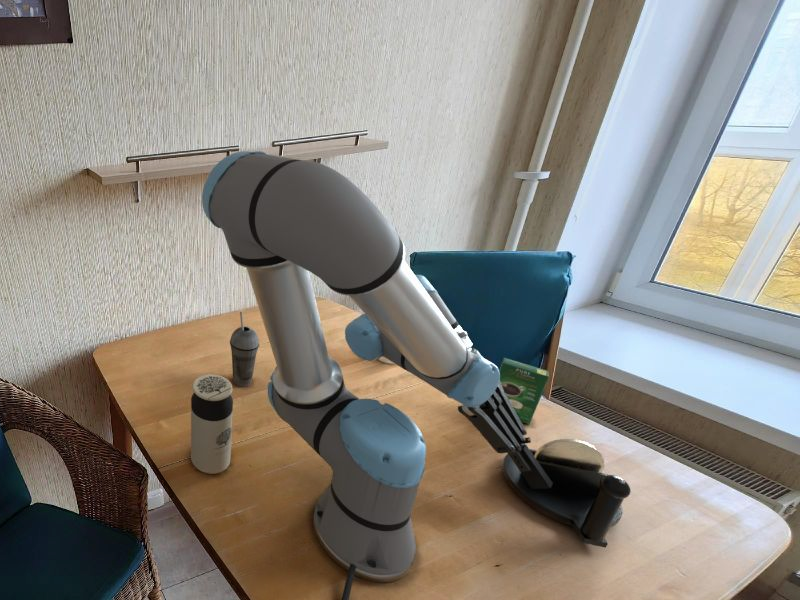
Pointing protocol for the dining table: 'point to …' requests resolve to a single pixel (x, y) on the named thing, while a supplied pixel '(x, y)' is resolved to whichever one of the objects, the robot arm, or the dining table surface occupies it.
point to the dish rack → (574, 488)
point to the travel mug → (211, 423)
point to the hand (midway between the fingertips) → (542, 486)
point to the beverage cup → (243, 354)
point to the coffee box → (523, 387)
